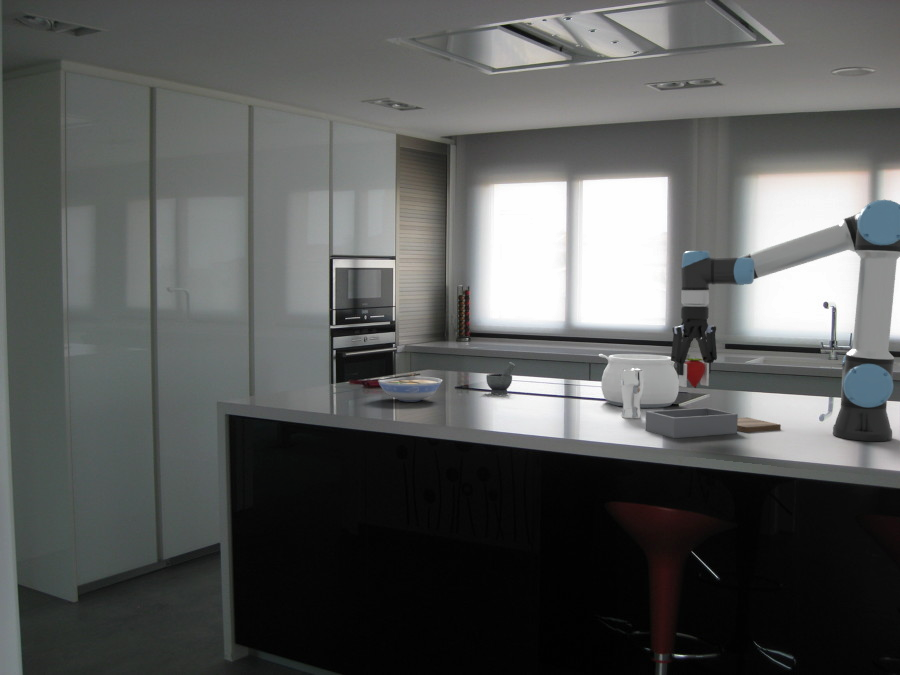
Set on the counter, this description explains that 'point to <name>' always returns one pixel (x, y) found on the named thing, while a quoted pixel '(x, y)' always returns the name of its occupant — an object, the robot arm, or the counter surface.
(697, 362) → the strawberry
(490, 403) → the counter surface
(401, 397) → the ramen bowl
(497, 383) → the mortar and pestle
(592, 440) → the counter surface
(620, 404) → the pot
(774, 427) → the display board
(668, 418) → the crate
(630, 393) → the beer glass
